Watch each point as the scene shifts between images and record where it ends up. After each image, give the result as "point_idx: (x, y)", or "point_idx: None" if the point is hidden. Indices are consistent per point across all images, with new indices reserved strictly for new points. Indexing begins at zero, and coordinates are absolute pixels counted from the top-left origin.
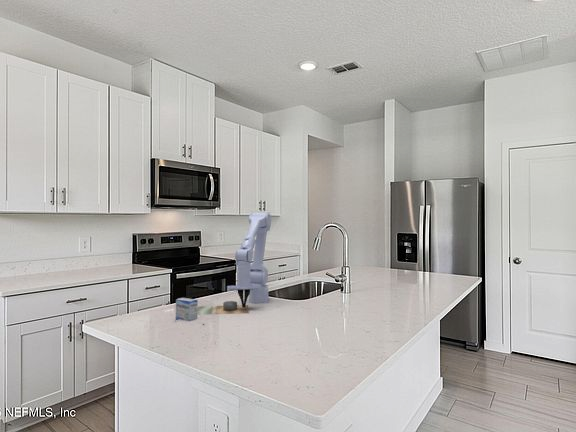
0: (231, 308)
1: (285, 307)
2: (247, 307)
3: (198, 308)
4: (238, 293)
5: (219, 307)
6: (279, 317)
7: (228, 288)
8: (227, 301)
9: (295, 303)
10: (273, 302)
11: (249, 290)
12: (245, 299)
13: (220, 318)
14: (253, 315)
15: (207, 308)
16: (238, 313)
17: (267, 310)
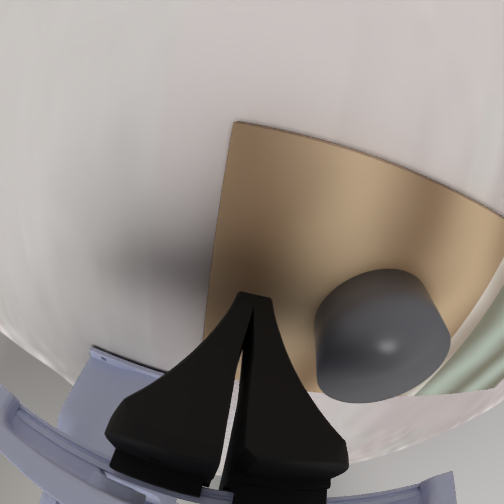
0: (397, 284)
1: (15, 271)
2: (212, 328)
3: (491, 363)
4: (345, 451)
5: None
6: (29, 49)
7: (446, 502)
8: (383, 397)
9: (8, 311)
10: (81, 366)
11: (119, 459)
12: (221, 351)
13: (498, 143)
14: (186, 113)
15: (467, 360)
16: (356, 151)
17: (75, 246)
